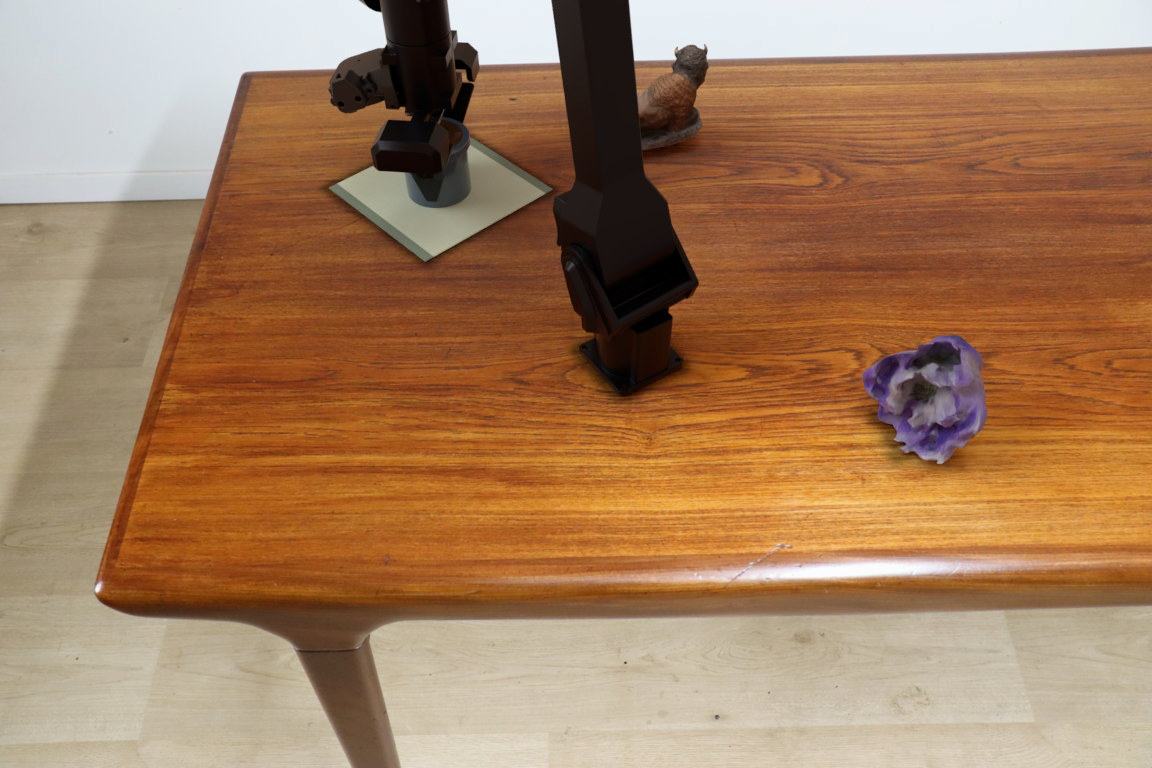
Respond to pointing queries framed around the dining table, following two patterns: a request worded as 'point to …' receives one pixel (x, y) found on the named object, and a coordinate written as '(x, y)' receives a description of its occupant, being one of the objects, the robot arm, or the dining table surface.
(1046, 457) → the dining table surface
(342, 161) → the dining table surface
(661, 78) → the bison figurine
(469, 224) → the mat
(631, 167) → the robot arm
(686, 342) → the dining table surface
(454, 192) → the pot
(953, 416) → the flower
